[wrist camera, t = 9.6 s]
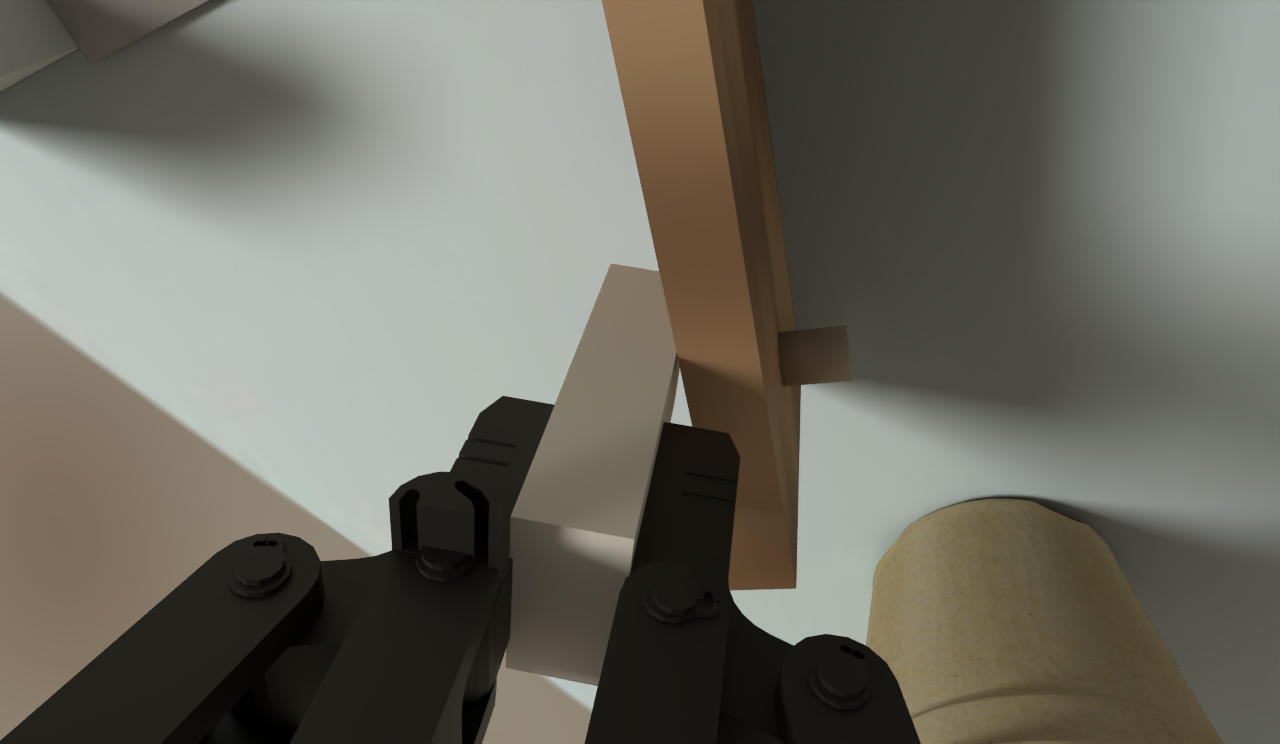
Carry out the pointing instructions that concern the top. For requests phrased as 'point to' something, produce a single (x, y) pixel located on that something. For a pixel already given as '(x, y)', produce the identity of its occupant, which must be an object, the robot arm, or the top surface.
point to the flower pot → (1023, 634)
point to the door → (724, 255)
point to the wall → (75, 30)
